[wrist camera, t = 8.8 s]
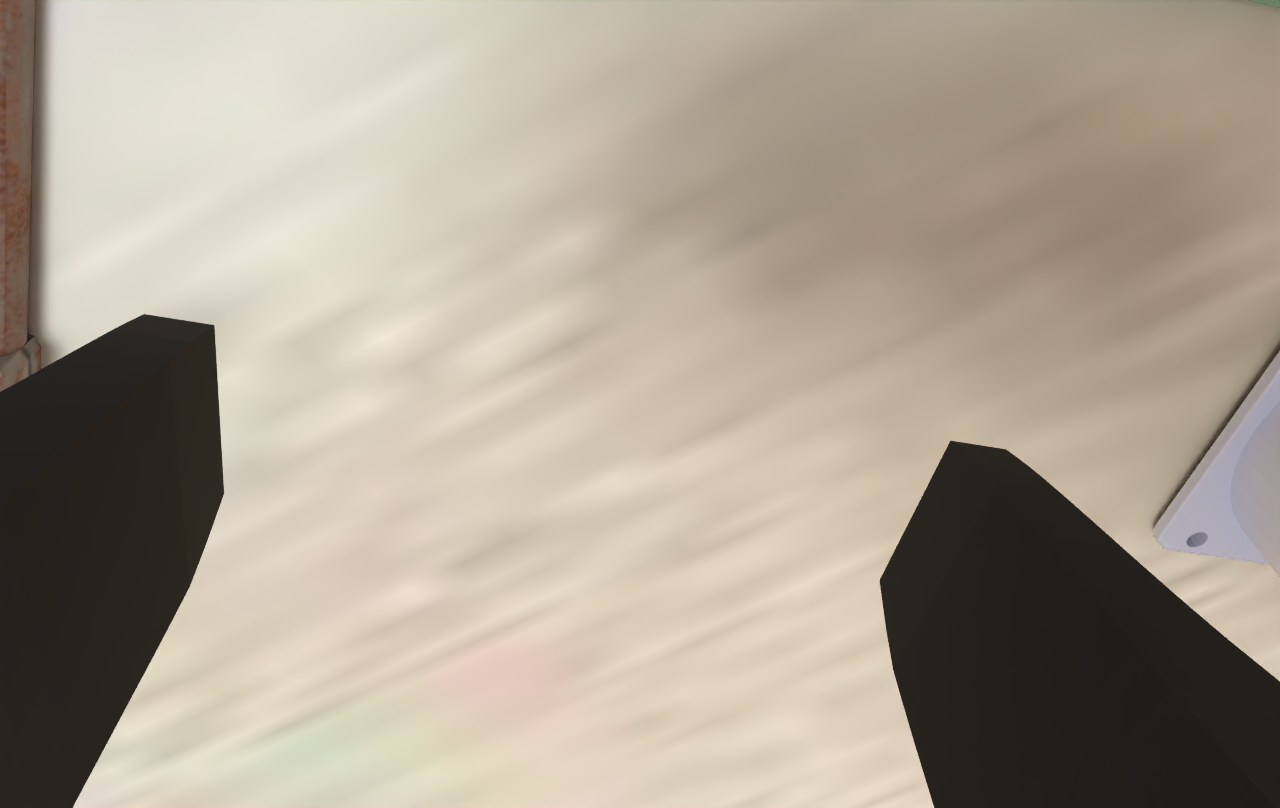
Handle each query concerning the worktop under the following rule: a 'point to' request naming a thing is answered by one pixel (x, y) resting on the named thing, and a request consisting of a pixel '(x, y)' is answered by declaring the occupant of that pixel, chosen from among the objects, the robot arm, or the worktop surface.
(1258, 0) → the board
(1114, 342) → the worktop surface
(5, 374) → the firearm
